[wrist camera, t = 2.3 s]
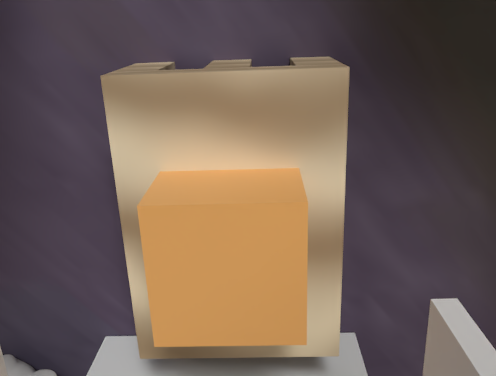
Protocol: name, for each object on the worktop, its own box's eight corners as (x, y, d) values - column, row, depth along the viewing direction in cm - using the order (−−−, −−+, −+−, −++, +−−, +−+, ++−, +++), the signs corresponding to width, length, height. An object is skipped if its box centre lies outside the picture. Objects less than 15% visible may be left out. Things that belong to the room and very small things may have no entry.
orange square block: (159, 171, 20) (136, 206, 16) (299, 167, 20) (308, 202, 16) (172, 291, 22) (154, 347, 18) (298, 289, 22) (306, 345, 18)
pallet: (137, 63, 24) (100, 75, 19) (328, 56, 24) (349, 67, 18) (163, 293, 29) (139, 359, 24) (323, 290, 29) (339, 356, 23)
